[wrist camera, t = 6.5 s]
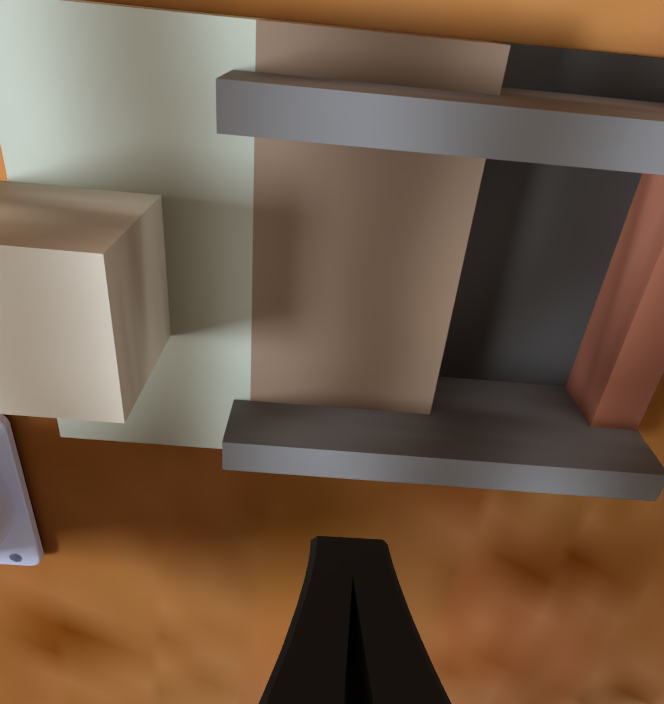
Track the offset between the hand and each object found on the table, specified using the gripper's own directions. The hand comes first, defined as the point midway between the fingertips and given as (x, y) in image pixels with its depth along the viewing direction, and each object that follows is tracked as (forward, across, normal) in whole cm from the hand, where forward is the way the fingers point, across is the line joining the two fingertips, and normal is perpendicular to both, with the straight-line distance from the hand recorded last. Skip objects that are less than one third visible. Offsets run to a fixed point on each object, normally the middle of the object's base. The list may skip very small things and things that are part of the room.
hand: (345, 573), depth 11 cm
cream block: (+7, +7, -3) cm, 10 cm away
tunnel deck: (+9, 0, -3) cm, 10 cm away
